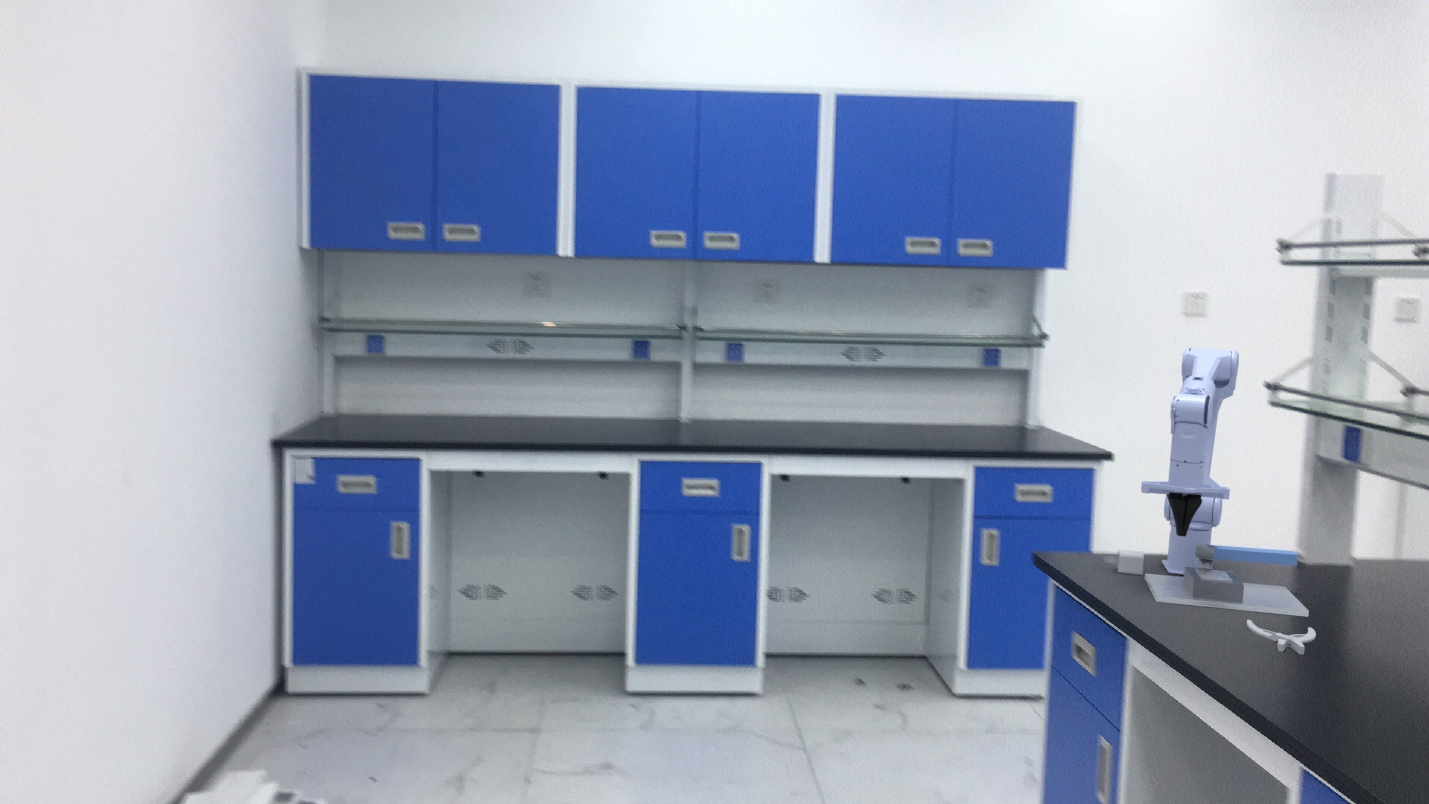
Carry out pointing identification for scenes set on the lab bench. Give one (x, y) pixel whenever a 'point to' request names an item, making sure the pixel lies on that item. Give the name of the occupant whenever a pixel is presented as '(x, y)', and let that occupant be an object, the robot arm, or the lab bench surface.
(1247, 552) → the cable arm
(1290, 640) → the pliers
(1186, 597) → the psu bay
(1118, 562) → the usb wall charger
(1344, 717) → the lab bench surface
